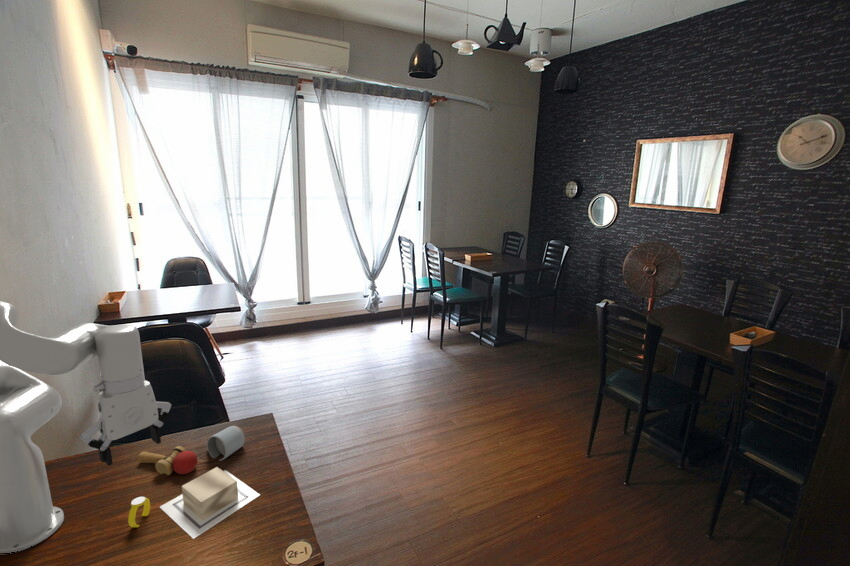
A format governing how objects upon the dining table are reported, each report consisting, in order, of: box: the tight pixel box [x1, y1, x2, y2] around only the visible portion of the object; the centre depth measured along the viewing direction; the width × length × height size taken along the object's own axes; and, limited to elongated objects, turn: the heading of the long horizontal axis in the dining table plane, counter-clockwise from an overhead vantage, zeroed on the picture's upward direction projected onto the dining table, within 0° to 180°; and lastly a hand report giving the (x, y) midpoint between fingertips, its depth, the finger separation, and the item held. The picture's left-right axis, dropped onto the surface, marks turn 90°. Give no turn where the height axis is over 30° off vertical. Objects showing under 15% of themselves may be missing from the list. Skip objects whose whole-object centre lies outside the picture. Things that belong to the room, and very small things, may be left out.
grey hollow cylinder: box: [206, 425, 246, 462], centre depth 123 cm, size 11×8×8 cm
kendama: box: [137, 445, 199, 476], centre depth 115 cm, size 8×6×18 cm
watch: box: [127, 496, 151, 528], centre depth 96 cm, size 6×3×6 cm, turn 3°
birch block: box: [181, 466, 238, 520], centre depth 103 cm, size 9×9×5 cm
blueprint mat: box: [159, 469, 261, 540], centre depth 104 cm, size 17×16×1 cm
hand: (133, 451), depth 93 cm, fingers open, 9 cm apart
